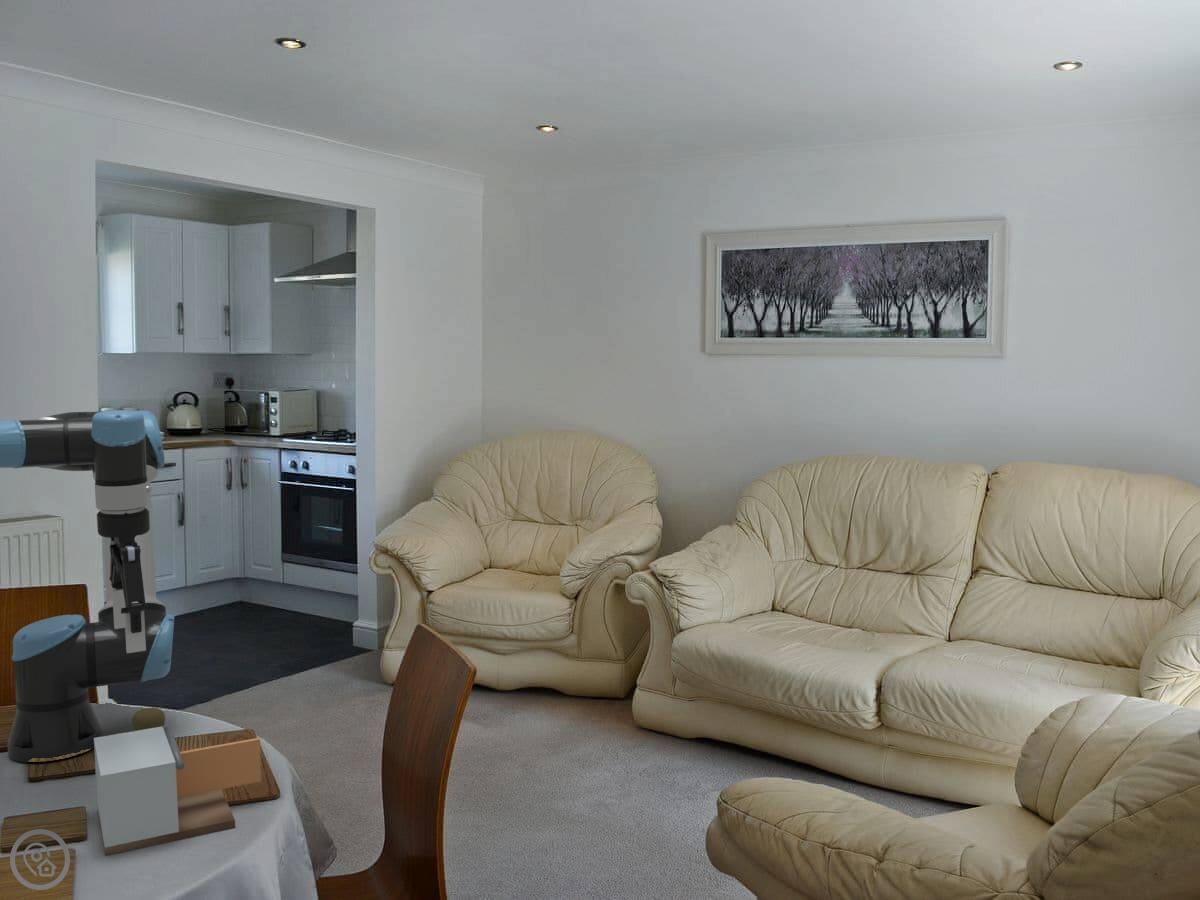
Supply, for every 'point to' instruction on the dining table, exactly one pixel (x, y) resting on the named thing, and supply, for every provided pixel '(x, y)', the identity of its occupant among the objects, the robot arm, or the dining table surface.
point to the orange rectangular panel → (219, 767)
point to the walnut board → (189, 820)
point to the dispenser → (137, 784)
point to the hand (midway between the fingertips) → (129, 639)
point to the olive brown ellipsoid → (148, 719)
